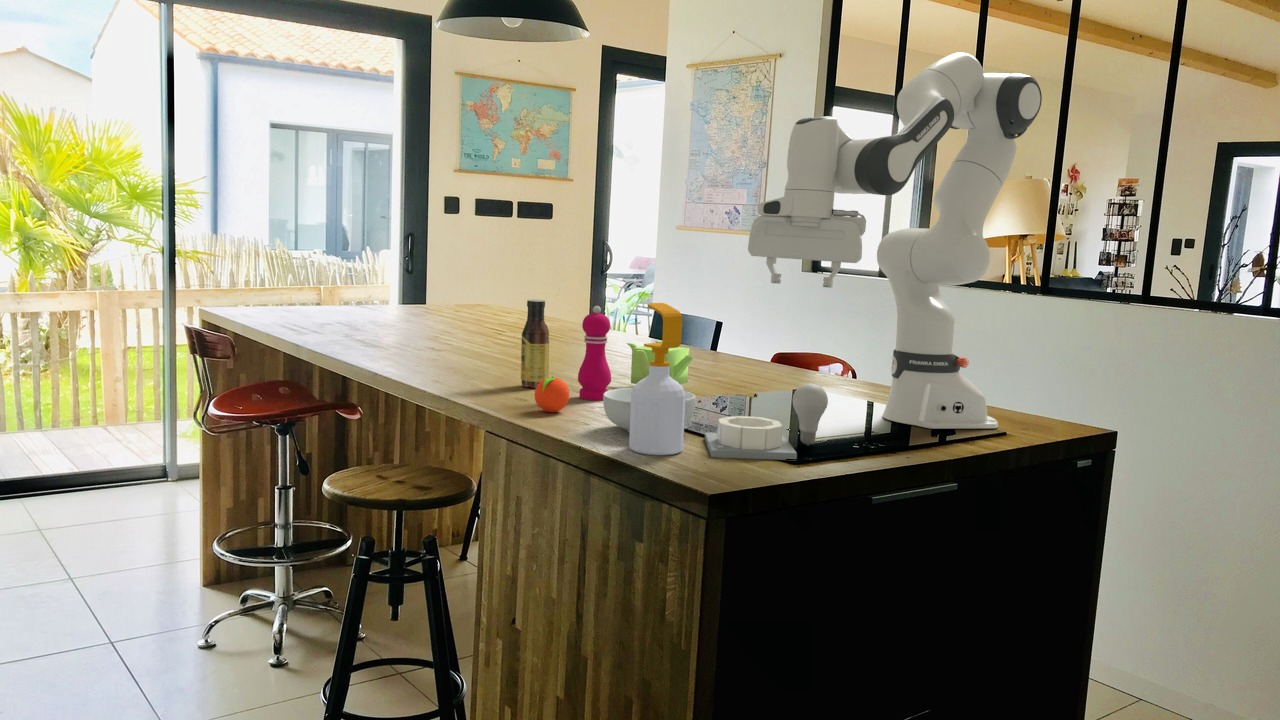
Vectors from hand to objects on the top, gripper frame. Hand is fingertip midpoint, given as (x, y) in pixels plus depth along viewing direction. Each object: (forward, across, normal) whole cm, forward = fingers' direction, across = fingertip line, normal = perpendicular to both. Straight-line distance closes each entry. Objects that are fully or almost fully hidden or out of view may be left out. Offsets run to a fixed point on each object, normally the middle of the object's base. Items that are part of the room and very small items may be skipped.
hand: (801, 285), depth 176 cm
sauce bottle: (+29, +63, -24) cm, 73 cm away
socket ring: (+27, +4, +15) cm, 31 cm away
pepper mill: (+28, +46, -18) cm, 57 cm away
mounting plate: (+28, +4, +15) cm, 32 cm away
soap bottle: (+29, +18, +23) cm, 41 cm away
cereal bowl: (+29, +24, +9) cm, 39 cm away
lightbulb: (+28, -5, +6) cm, 29 cm away
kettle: (+28, +38, -38) cm, 60 cm away
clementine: (+29, +47, +2) cm, 55 cm away
